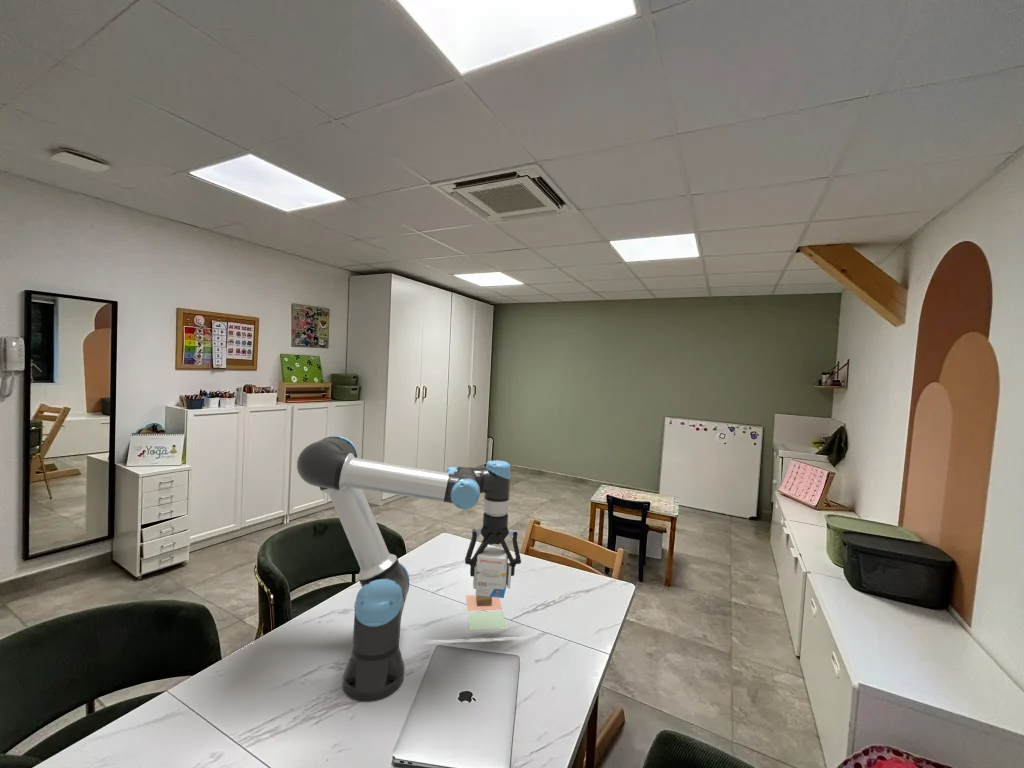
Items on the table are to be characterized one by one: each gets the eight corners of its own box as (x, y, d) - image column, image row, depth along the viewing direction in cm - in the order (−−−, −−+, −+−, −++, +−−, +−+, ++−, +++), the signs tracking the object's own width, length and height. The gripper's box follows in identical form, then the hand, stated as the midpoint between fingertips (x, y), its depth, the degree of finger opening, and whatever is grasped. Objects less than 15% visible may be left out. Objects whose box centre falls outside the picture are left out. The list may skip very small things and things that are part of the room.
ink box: (507, 585, 127) (509, 547, 127) (503, 598, 118) (505, 558, 119) (480, 581, 128) (482, 544, 128) (474, 595, 119) (477, 555, 119)
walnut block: (491, 605, 142) (492, 591, 142) (477, 606, 141) (478, 592, 141) (489, 598, 147) (490, 584, 147) (476, 598, 146) (476, 584, 146)
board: (510, 633, 129) (510, 629, 129) (466, 635, 127) (466, 631, 127) (500, 597, 151) (500, 593, 151) (462, 598, 148) (463, 594, 149)
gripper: (529, 509, 129) (525, 579, 129) (458, 508, 125) (454, 580, 125) (534, 517, 121) (529, 592, 121) (459, 516, 118) (454, 593, 118)
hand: (491, 586), depth 123 cm, fingers closed on ink box, 10 cm apart
